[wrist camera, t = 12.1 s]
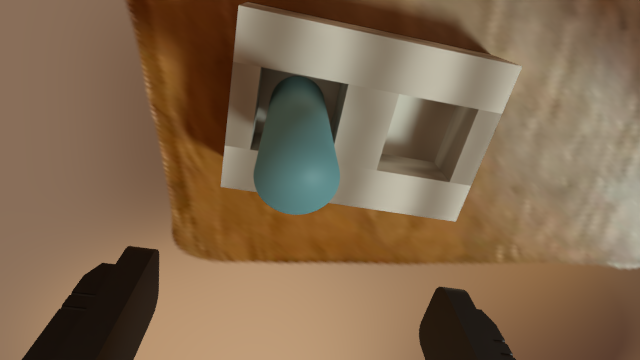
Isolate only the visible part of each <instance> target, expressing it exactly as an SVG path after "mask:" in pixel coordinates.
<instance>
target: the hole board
mask: <svg viewBox="0 0 640 360" xmlns="http://www.w3.org/2000/svg"><path fill="white" fill-rule="evenodd" d="M521 68H522V66H520V65H518V64H515V63H512V62H509V61H507V60H504V59H501V58H499V57H496V56H493V55H491V54H486V53H481V52H477V51H472V50H468V49H463V48H458V47H454V46H449V45H445V44H440V43H435V42H431V41H426V40H421V39H417V38H412V37H408V36H403V35H398V34H394V33H389V32H385V31H380V30H375V29H371V28H366V27H362V26H357V25H352V24H348V23H343V22H339V21H334V20H329V19H325V18H320V17H315V16H311V15H306V14H302V13H297V12H292V11H288V10H283V9H279V8H274V7H269V6H265V5H260V4H256V3H251V2H246V3H243V4H241V5H239V6H238V16H237V26H236V37H235V47H234V57H233V67H232V77H231V88H230V98H229V108H228V118H227V128H226V138H225V149H224V159H223V169H222V179H221V187H227V188H233V189H240V190H247V191H253V192H257V190H256V188H255V184H254V177H253V175H254V168H255V163H256V159H257V155H258V151H259V146H260V142H261V138H262V133H263V129H264V125H265V121H266V116H267V112H268V108H269V103H270V99H271V95H272V92H273V90H274V88H275V87H276V86H277V84H278V83H280V82H281V81H282V80H284V79H286V78H288V77H292V76H302V77H306V78H308V79H310V80H312V81H314V82H315V83H316V84H317V85H318V86H319V87H320V89H321V91H322V93H323V96H324V100H325V105H326V109H327V114H328V119H329V123H330V128H331V133H332V137H333V142H334V147H335V151H336V156H337V161H338V165H339V170H340V182H339V186H338V189H337V191H336V193H335V195H334V196H333V198H332V199H331V200H330V201H329V202H328V203H334V204H341V205H347V206H354V207H361V208H368V209H374V210H381V211H388V212H394V213H401V214H408V215H415V216H421V217H428V218H435V219H442V220H448V221H455V222H456V219H457V217H458V215H459V212H460V210H461V208H462V205H463V203H464V201H465V198H466V196H467V194H468V192H469V189H470V187H471V185H472V182H473V180H474V178H475V175H476V173H477V171H478V168H479V166H480V164H481V161H482V159H483V157H484V154H485V152H486V150H487V147H488V145H489V143H490V140H491V138H492V136H493V133H494V131H495V129H496V126H497V124H498V122H499V119H500V117H501V115H502V112H503V110H504V108H505V105H506V103H507V101H508V99H509V96H510V94H511V92H512V89H513V87H514V85H515V82H516V80H517V78H518V75H519V73H520V71H521Z"/></svg>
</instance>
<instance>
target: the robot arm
mask: <svg viewBox="0 0 640 360" xmlns="http://www.w3.org/2000/svg"><path fill="white" fill-rule="evenodd" d="M158 291H159V251H158V250H156V249H148V248H140V247H132V246H128V247H127V248H126V249H125V250H124V252H123V254H122V255H121V257H120V258H119V260H118V261H117V263H116V264H107V263H102V264H100V265H99V266H97V267H96V268H94V269H93V270H91V271H90V272H88V273H87V274H85V275H84V276H83V277H82V279H81V280H80V281H79V283H78V284H77V285H76V287H75V288H74V289H73V291H72V294H71V295H69V296H68V298H67V299H66V300H65V302H64V303H63V305H62V307H61V309H59V310H58V311H57V313H56V314H55V316H54V317H53V318H52V319H51V321H50V322H49V323H48V325H47V326H46V328H45V329H44V330H43V332H42V333H41V334H40V336H39V337H38V338H37V340H36V341H35V342H34V344H33V345H32V347H31V348H30V349H29V351H28V352H27V353H26V355H25V356H24V358H23V359H22V360H133V359H134V357H135V355H136V353H137V351H138V348H139V346H140V344H141V341H142V339H143V337H144V335H145V332H146V330H147V328H148V326H149V323H150V321H151V319H152V317H153V314H154V311H155V308H156V304H157V299H158ZM419 339H420V345H421V348H422V351H423V354H424V357H425V360H516V359H515V358H513V356H512V352H511V351H510V349H509V347H508V345H507V344H505V340H504V338H503V337H502V335H501V333H500V331H499V330H498V328H497V326H496V324H494V322H493V321H492V320H491V319H490V318H489V317H488V316H487V315H486V314H485V313H484V312H483V311H482V310H479V309H476V307H475V305H474V304H473V302H472V300H471V298H470V296H469V294H468V293H467V292H466V291H465V290H461V289H454V288H445V287H438V288H437V289H436V290H435V292H434V294H433V297H432V299H431V301H430V304H429V306H428V308H427V310H426V312H425V314H424V317H423V319H422V321H421V324H420V329H419Z"/></svg>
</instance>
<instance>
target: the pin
mask: <svg viewBox="0 0 640 360" xmlns="http://www.w3.org/2000/svg"><path fill="white" fill-rule="evenodd" d="M253 177H254V184H255V188H256V190H257V192H258V194H259V196H260V197H261V198H262V200H263V201H264V202H265V203H266V204H268V205H269V206H270V207H272V208H274V209H275V210H278V211H280V212H283V213H287V214H295V215H298V214H307V213H311V212H314V211H316V210H318V209H320V208H322V207H323V206H325V205H326V204H327V203H328V202H329V201H330V200H331V199H332V198H333V196H334V195H335V193H336V191H337V189H338V186H339V182H340V170H339V165H338V161H337V156H336V151H335V147H334V142H333V137H332V133H331V128H330V123H329V119H328V114H327V109H326V105H325V100H324V96H323V93H322V91H321V89H320V87H319V86H318V85H317V84H316V83H315V82H314V81H312V80H310V79H308V78H306V77H302V76H292V77H288V78H286V79H284V80H282V81H281V82H280V83H278V84H277V86H276V87H275V88H274V90H273V92H272V95H271V99H270V103H269V108H268V112H267V116H266V121H265V125H264V129H263V133H262V138H261V142H260V146H259V151H258V155H257V159H256V163H255V168H254V175H253Z"/></svg>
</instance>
